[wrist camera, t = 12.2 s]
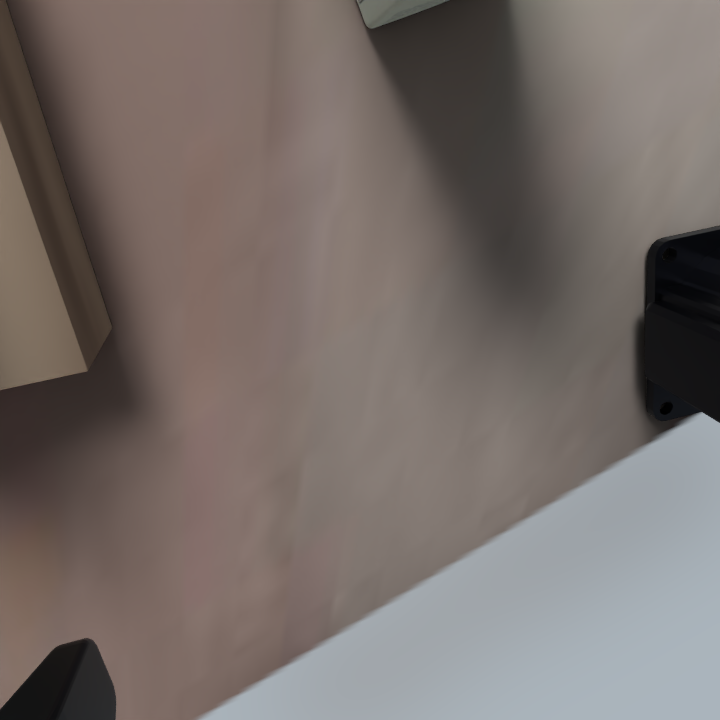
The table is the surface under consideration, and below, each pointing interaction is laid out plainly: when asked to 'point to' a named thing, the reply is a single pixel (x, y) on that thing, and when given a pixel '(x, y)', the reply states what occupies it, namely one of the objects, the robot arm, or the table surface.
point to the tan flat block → (39, 242)
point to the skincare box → (391, 10)
